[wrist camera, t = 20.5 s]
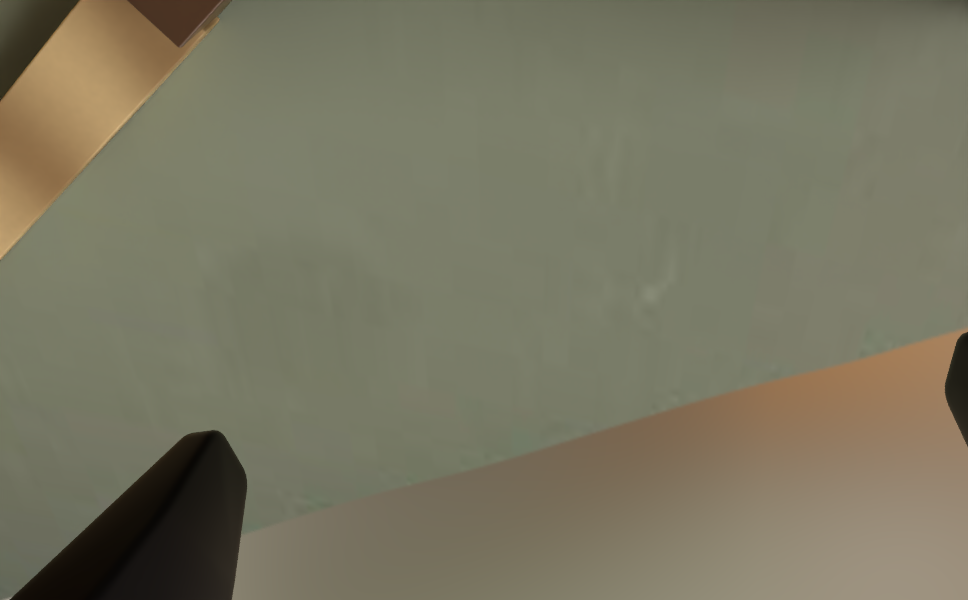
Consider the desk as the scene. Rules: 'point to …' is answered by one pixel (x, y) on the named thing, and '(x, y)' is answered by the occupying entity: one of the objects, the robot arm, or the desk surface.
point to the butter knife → (86, 95)
